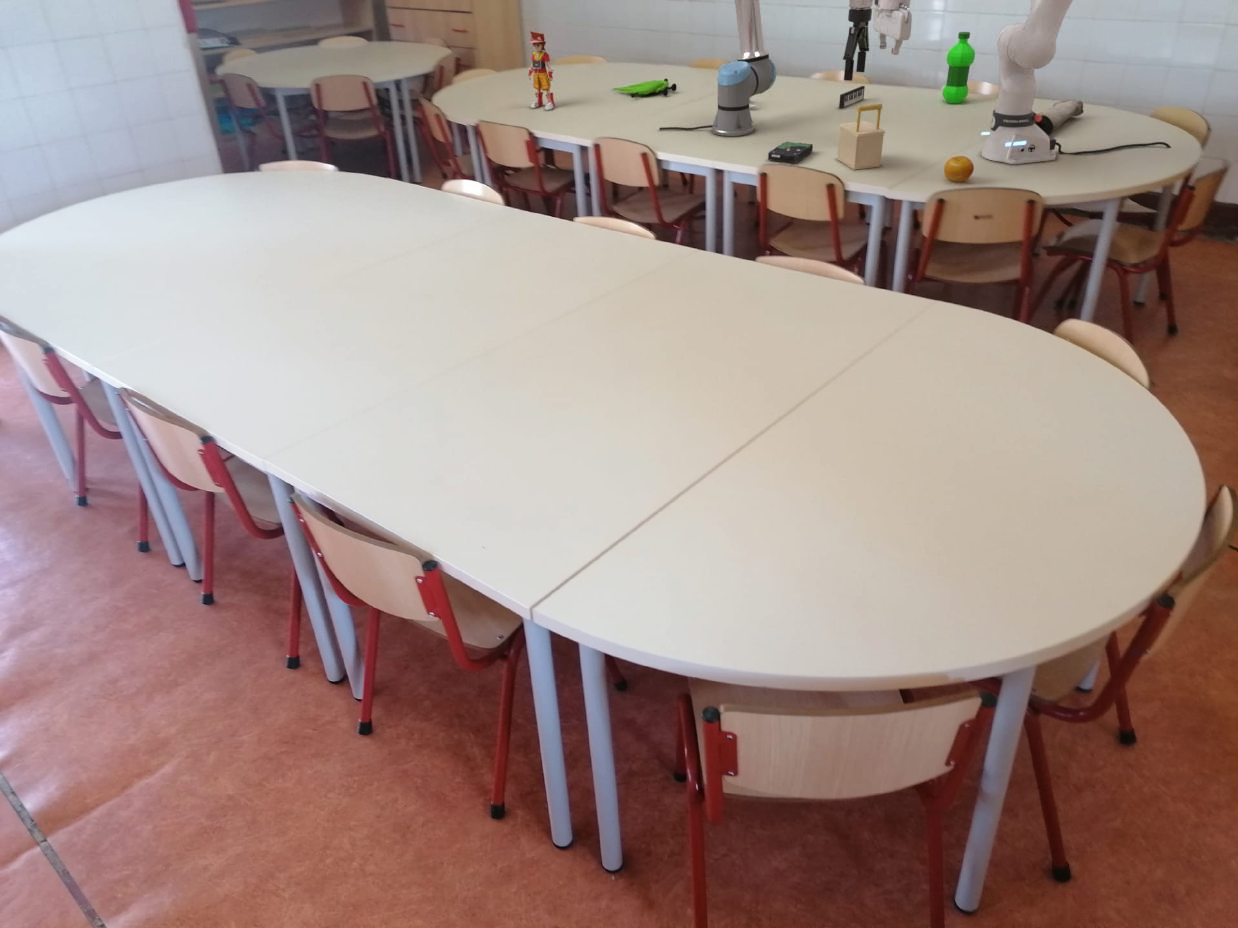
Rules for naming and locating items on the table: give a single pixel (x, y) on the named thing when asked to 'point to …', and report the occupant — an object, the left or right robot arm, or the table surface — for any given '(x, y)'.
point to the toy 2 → (648, 88)
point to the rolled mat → (1059, 114)
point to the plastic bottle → (958, 69)
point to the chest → (860, 150)
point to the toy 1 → (541, 71)
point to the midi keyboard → (851, 96)
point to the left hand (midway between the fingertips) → (854, 76)
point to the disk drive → (790, 152)
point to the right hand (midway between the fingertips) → (888, 51)
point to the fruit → (958, 168)
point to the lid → (865, 123)
